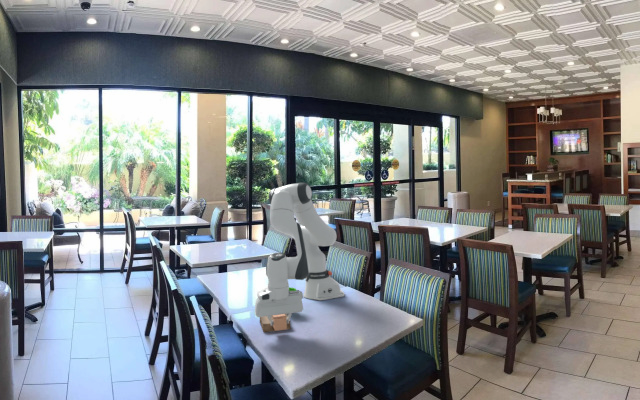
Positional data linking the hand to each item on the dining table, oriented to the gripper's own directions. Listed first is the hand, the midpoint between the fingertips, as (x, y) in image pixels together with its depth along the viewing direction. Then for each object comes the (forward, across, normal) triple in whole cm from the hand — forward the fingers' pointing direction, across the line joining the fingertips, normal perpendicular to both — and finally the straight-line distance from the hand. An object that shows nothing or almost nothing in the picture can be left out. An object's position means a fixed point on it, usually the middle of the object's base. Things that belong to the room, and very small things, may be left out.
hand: (279, 324), depth 181 cm
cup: (+5, -9, -27) cm, 29 cm away
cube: (+2, 0, 0) cm, 2 cm away
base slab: (+5, 0, -11) cm, 12 cm away
